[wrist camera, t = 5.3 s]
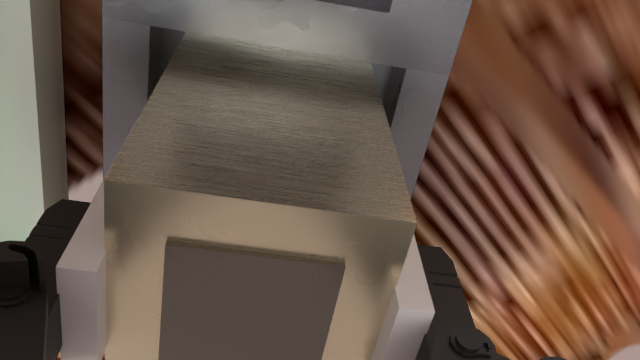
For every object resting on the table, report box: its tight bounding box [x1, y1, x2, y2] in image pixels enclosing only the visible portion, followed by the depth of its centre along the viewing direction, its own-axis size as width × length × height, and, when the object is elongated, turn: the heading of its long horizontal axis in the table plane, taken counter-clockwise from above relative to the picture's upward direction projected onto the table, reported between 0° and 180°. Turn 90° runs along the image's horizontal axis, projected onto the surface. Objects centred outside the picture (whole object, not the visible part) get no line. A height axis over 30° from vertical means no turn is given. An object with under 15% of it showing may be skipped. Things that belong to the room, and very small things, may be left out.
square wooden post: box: [104, 32, 417, 360], centre depth 17 cm, size 6×6×9 cm
